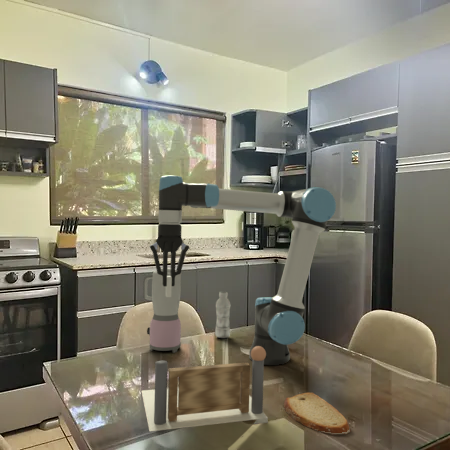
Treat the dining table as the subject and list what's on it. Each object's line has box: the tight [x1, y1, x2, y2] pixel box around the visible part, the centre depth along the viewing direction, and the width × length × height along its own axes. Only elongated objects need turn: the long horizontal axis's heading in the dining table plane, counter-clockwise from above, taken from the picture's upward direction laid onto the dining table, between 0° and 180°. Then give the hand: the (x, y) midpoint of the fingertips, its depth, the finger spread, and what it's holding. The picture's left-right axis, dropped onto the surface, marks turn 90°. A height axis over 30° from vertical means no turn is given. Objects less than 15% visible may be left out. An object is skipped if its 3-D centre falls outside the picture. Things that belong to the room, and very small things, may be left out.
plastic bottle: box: [214, 291, 231, 339], centre depth 182 cm, size 6×7×20 cm
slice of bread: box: [283, 391, 350, 433], centre depth 112 cm, size 18×18×4 cm
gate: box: [167, 361, 251, 421], centre depth 107 cm, size 21×2×12 cm, turn 106°
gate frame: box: [141, 346, 269, 432], centre depth 114 cm, size 30×24×18 cm
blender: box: [142, 267, 183, 354], centre depth 165 cm, size 16×12×32 cm
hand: (168, 296), depth 135 cm, fingers closed
